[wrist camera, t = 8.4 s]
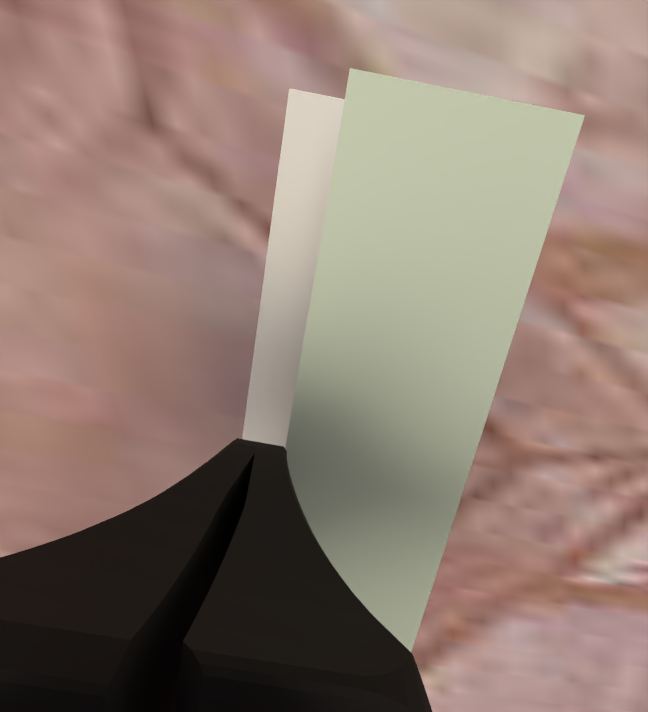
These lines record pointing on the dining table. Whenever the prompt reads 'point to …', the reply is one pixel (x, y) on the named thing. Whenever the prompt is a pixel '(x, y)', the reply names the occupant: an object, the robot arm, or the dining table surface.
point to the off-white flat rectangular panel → (291, 261)
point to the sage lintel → (414, 321)
